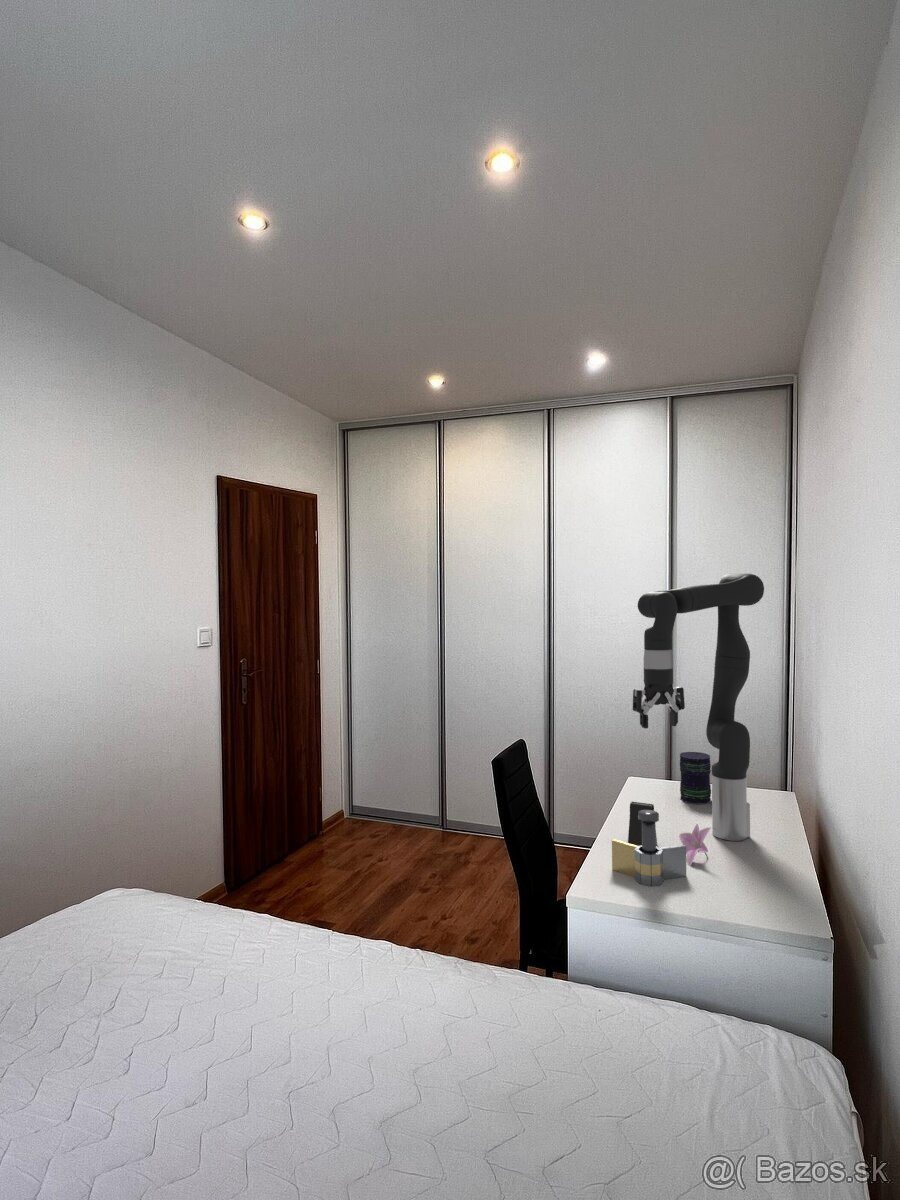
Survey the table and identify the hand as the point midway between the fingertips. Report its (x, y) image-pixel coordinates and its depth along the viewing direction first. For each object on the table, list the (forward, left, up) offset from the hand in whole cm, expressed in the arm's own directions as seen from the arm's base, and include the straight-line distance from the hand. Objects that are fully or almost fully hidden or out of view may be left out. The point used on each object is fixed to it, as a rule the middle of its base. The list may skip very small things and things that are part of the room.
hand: (659, 726), depth 181 cm
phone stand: (+2, -6, -34) cm, 35 cm away
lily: (-6, +6, -34) cm, 35 cm away
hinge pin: (+12, +14, -34) cm, 39 cm away
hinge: (+10, +11, -34) cm, 37 cm away
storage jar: (-37, -38, -34) cm, 63 cm away
